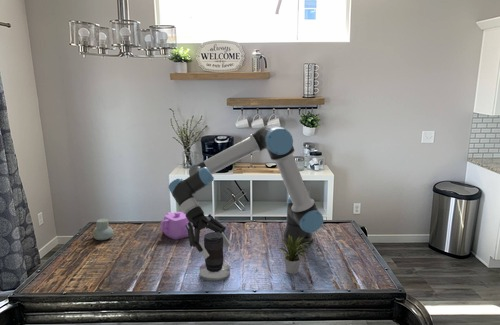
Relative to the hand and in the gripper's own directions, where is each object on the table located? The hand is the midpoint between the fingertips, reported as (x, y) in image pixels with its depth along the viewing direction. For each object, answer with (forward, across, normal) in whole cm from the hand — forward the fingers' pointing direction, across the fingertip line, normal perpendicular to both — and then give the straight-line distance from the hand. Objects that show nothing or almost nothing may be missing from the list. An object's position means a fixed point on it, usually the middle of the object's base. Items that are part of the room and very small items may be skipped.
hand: (218, 251), depth 159 cm
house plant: (+24, -22, +8) cm, 34 cm away
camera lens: (+4, 0, -8) cm, 9 cm away
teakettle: (-26, -21, -42) cm, 54 cm away
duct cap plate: (+6, 0, -10) cm, 11 cm away
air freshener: (-45, +8, -61) cm, 77 cm away
